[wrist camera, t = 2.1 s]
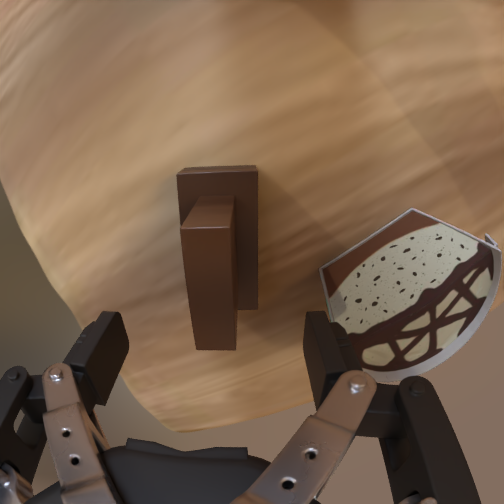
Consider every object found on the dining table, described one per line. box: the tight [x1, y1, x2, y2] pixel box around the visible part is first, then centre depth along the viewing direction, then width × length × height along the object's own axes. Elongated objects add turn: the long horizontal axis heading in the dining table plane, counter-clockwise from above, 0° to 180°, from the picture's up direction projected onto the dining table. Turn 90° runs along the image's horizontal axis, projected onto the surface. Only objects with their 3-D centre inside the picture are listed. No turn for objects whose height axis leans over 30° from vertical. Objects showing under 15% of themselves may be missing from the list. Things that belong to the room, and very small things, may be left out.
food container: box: [318, 208, 502, 382], centre depth 19 cm, size 12×6×10 cm, turn 125°
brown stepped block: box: [177, 165, 258, 350], centre depth 18 cm, size 10×5×9 cm, turn 1°
